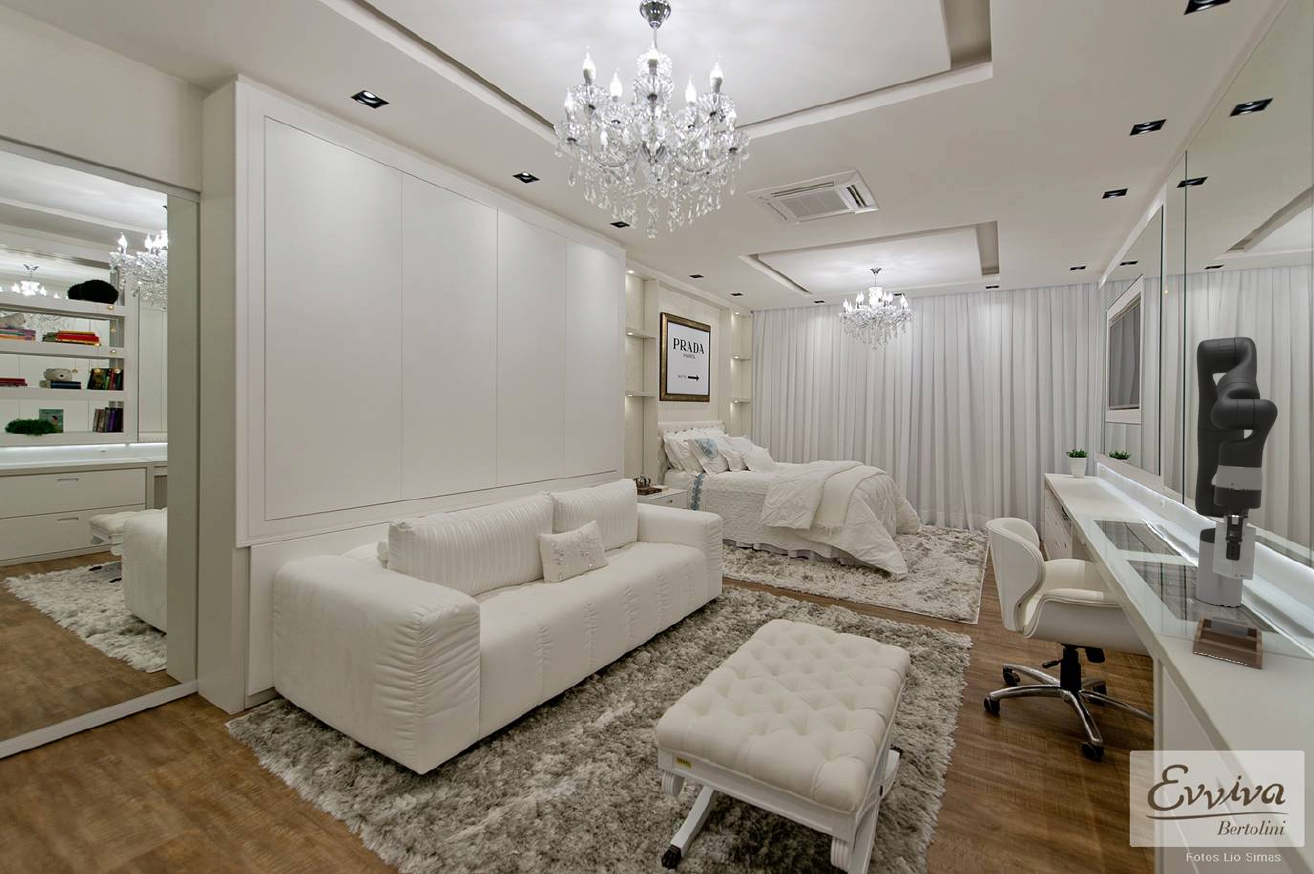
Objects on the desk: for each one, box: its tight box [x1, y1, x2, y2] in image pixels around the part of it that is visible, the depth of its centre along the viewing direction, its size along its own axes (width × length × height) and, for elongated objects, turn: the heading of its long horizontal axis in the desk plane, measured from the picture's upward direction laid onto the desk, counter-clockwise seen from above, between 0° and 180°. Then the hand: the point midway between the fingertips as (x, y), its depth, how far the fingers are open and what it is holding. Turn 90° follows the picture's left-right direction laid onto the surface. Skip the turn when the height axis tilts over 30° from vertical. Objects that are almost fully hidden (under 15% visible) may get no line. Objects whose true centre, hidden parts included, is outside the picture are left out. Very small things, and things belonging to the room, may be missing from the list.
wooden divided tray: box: [1192, 614, 1263, 670], centre depth 132 cm, size 20×11×5 cm, turn 134°
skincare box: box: [1213, 522, 1257, 581], centre depth 132 cm, size 6×4×12 cm
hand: (1233, 557), depth 132 cm, fingers closed on skincare box, 7 cm apart
